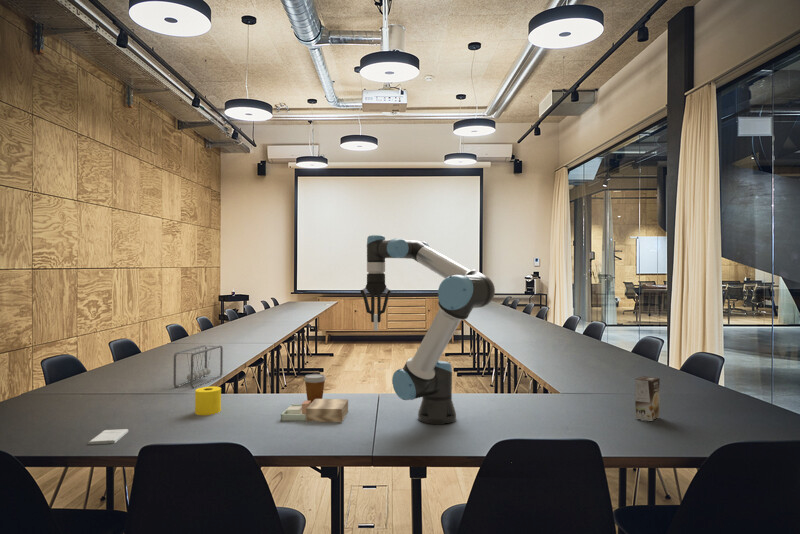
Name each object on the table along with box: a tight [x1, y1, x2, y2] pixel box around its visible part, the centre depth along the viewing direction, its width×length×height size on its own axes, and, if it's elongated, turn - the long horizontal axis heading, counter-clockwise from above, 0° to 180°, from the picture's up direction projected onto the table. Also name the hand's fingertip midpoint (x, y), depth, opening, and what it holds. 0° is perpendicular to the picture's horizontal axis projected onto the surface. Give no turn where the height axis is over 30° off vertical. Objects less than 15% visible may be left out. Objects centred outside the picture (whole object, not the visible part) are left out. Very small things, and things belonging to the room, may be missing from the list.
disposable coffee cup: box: [303, 373, 327, 403], centre depth 220 cm, size 10×10×12 cm
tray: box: [280, 403, 307, 422], centre depth 201 cm, size 10×15×2 cm, turn 177°
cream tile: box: [286, 405, 302, 414], centre depth 201 cm, size 5×5×2 cm
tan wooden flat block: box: [305, 398, 349, 423], centre depth 200 cm, size 14×15×5 cm
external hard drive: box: [88, 428, 129, 445], centre depth 173 cm, size 2×8×12 cm
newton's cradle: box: [172, 344, 224, 389], centre depth 262 cm, size 30×10×18 cm, turn 171°
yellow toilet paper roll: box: [194, 386, 222, 416], centre depth 206 cm, size 10×10×9 cm
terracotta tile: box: [301, 400, 311, 415], centre depth 200 cm, size 5×5×2 cm
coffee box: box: [634, 375, 661, 421], centre depth 198 cm, size 9×6×16 cm
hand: (375, 330), depth 203 cm, fingers closed
